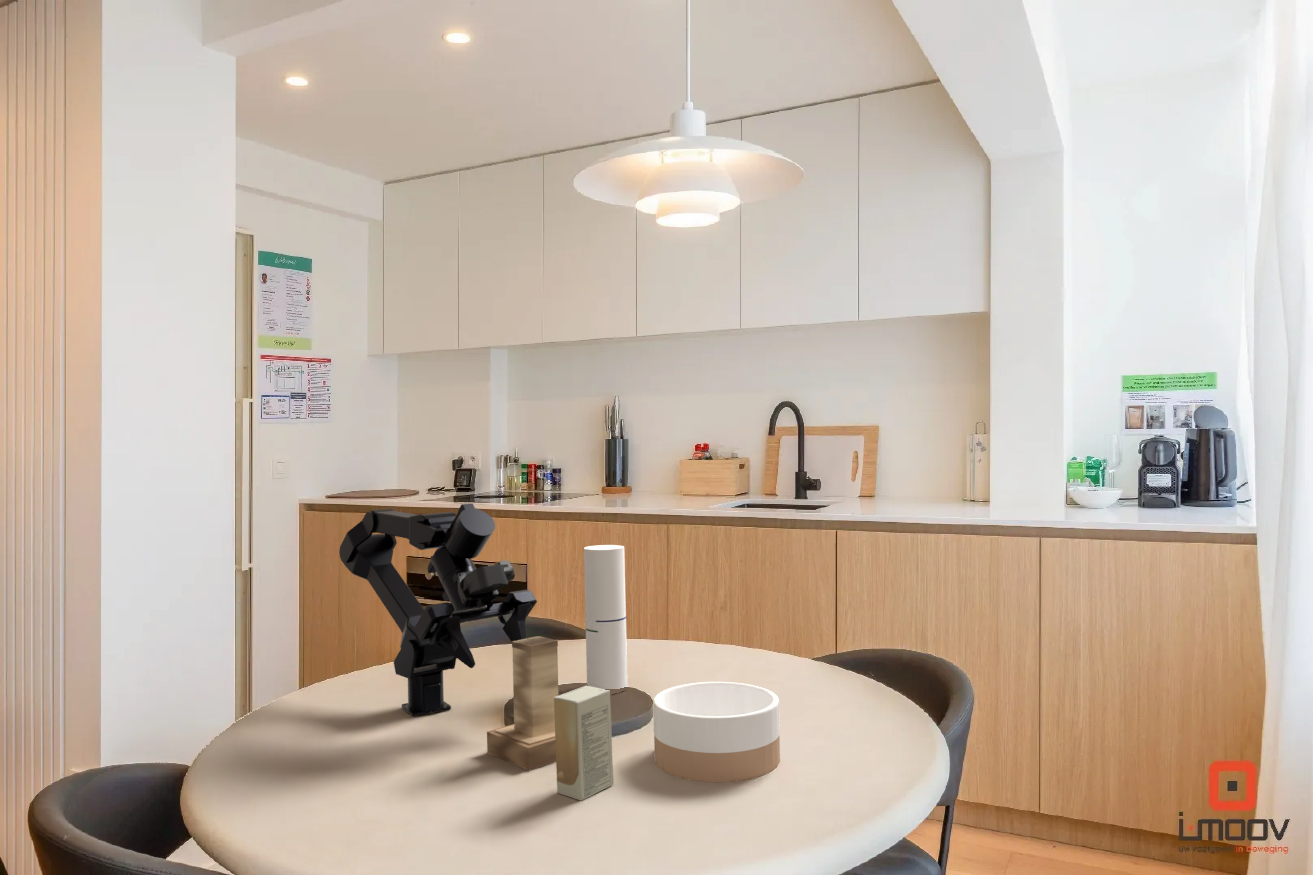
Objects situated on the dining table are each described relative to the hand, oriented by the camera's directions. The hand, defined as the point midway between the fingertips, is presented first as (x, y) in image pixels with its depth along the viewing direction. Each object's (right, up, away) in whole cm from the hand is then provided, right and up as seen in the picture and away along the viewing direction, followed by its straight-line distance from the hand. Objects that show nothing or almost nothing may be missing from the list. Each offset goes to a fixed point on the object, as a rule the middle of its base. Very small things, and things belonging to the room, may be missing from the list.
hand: (500, 660), depth 132 cm
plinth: (+6, -11, -6) cm, 14 cm away
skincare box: (+14, -11, -20) cm, 27 cm away
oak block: (+6, -8, -6) cm, 12 cm away
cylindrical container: (+15, -12, +25) cm, 31 cm away
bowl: (+32, -11, -10) cm, 35 cm away
